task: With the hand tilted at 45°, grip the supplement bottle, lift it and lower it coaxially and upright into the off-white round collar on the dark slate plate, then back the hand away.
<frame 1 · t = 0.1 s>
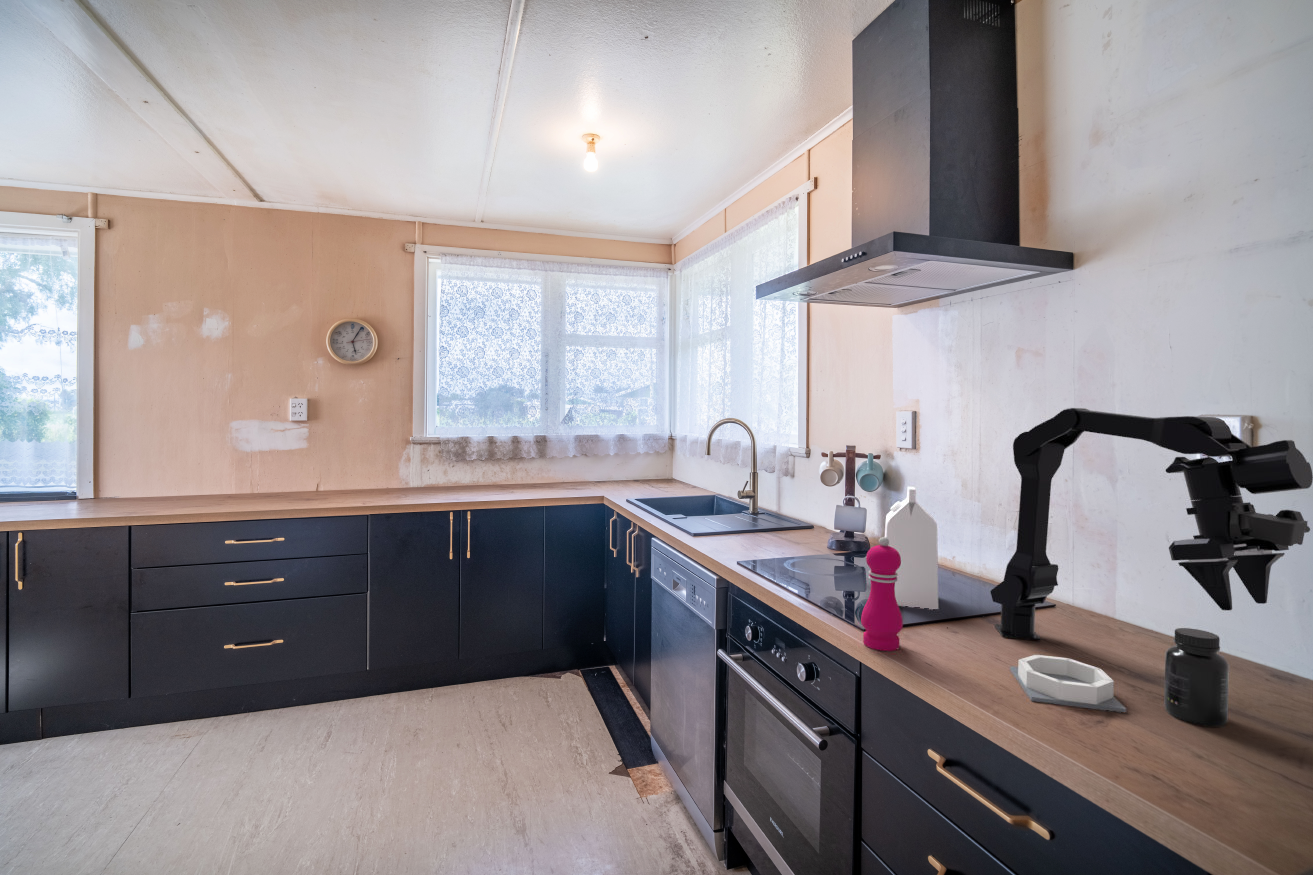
hand: (1244, 606, 88), 15 cm above the worktop, tool pointing down, fingers open, 9 cm apart
milk: (908, 600, 143), on the worktop
supplement bottle: (1194, 717, 87), on the worktop
pepper mill: (880, 645, 113), on the worktop
collar seat: (1063, 689, 95), on the worktop
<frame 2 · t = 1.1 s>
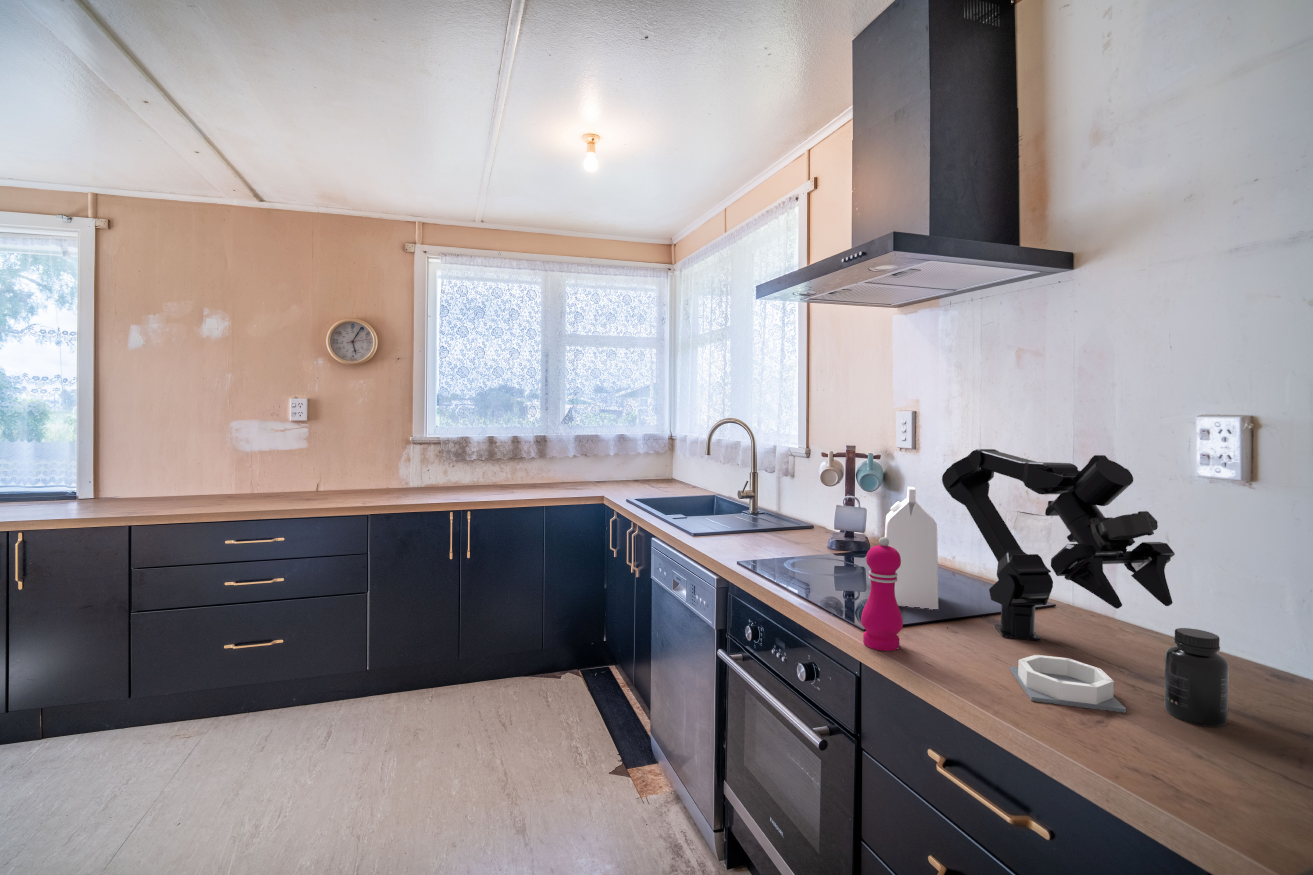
hand: (1144, 606, 95), 13 cm above the worktop, tool tilted 45°, fingers open, 9 cm apart
nothing on the worktop moved.
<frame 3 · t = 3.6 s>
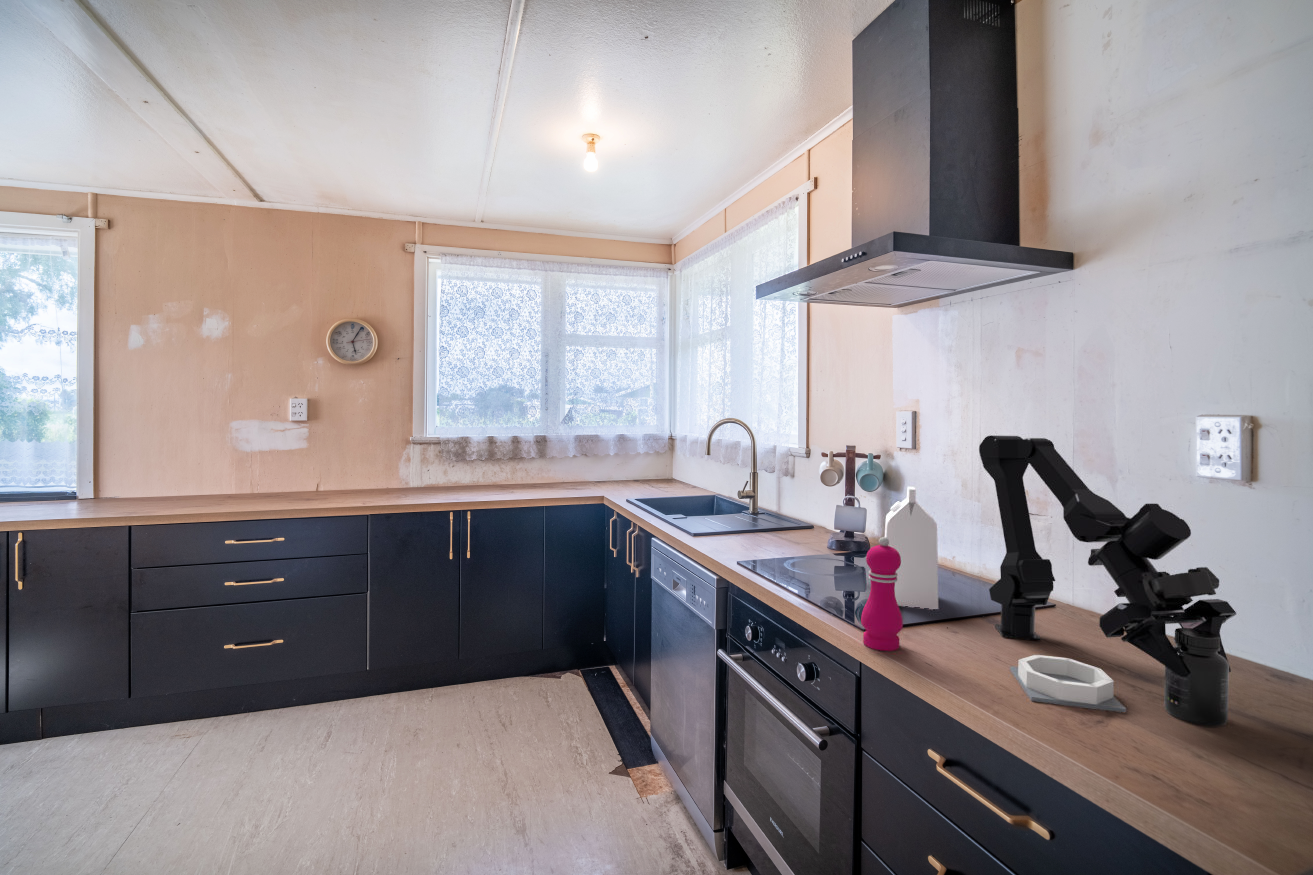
hand: (1206, 674, 86), 7 cm above the worktop, tool tilted 45°, fingers closed on supplement bottle, 7 cm apart
supplement bottle: (1194, 717, 87), on the worktop, touching gripper
everything else where it was.
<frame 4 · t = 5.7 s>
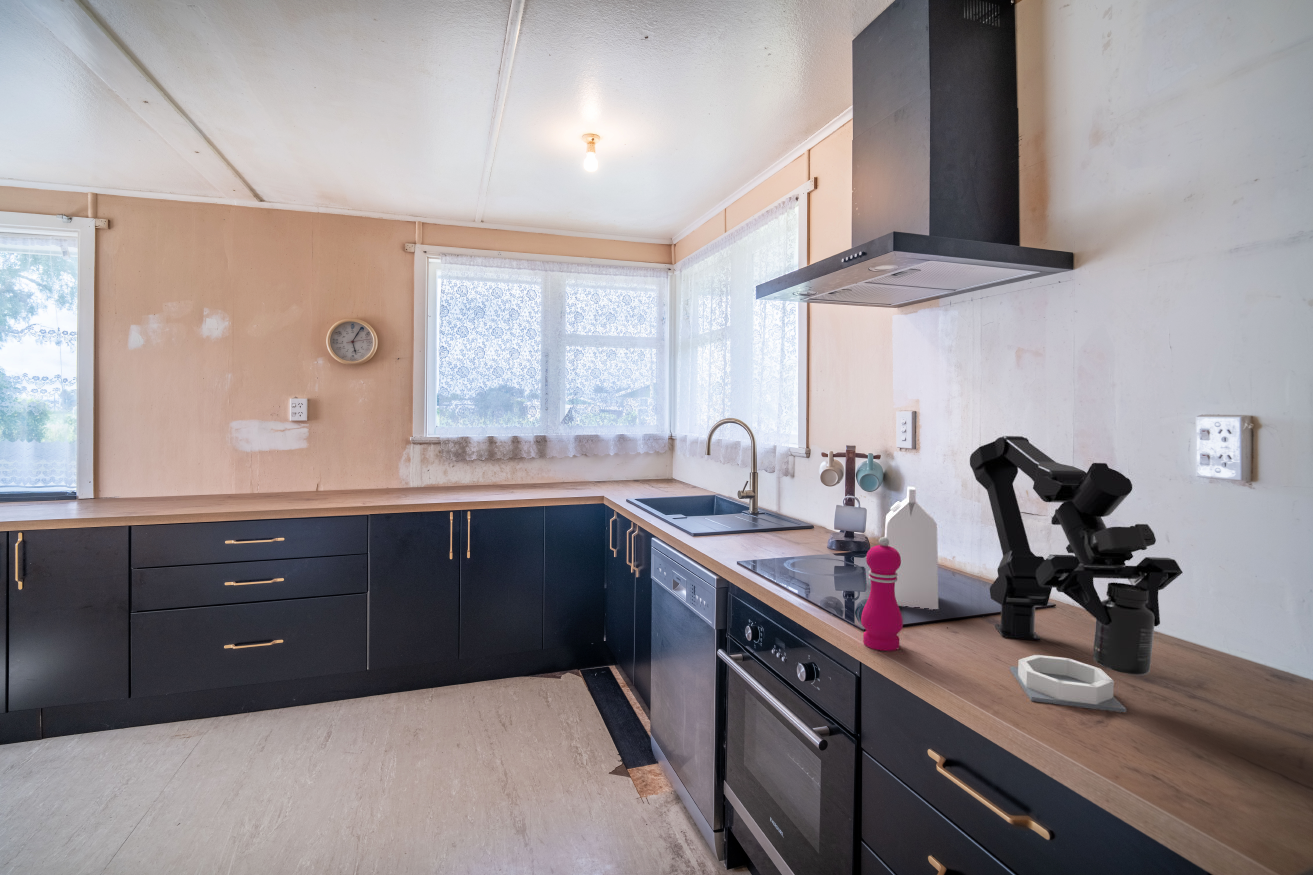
hand: (1131, 624, 89), 12 cm above the worktop, tool tilted 45°, fingers closed on supplement bottle, 7 cm apart
supplement bottle: (1119, 667, 91), point 5 cm above the worktop, touching gripper
everything else where it was.
when the fingers open (8 cm above the worktop, at t = 7.8 s): supplement bottle stays where it is, resting on collar seat.
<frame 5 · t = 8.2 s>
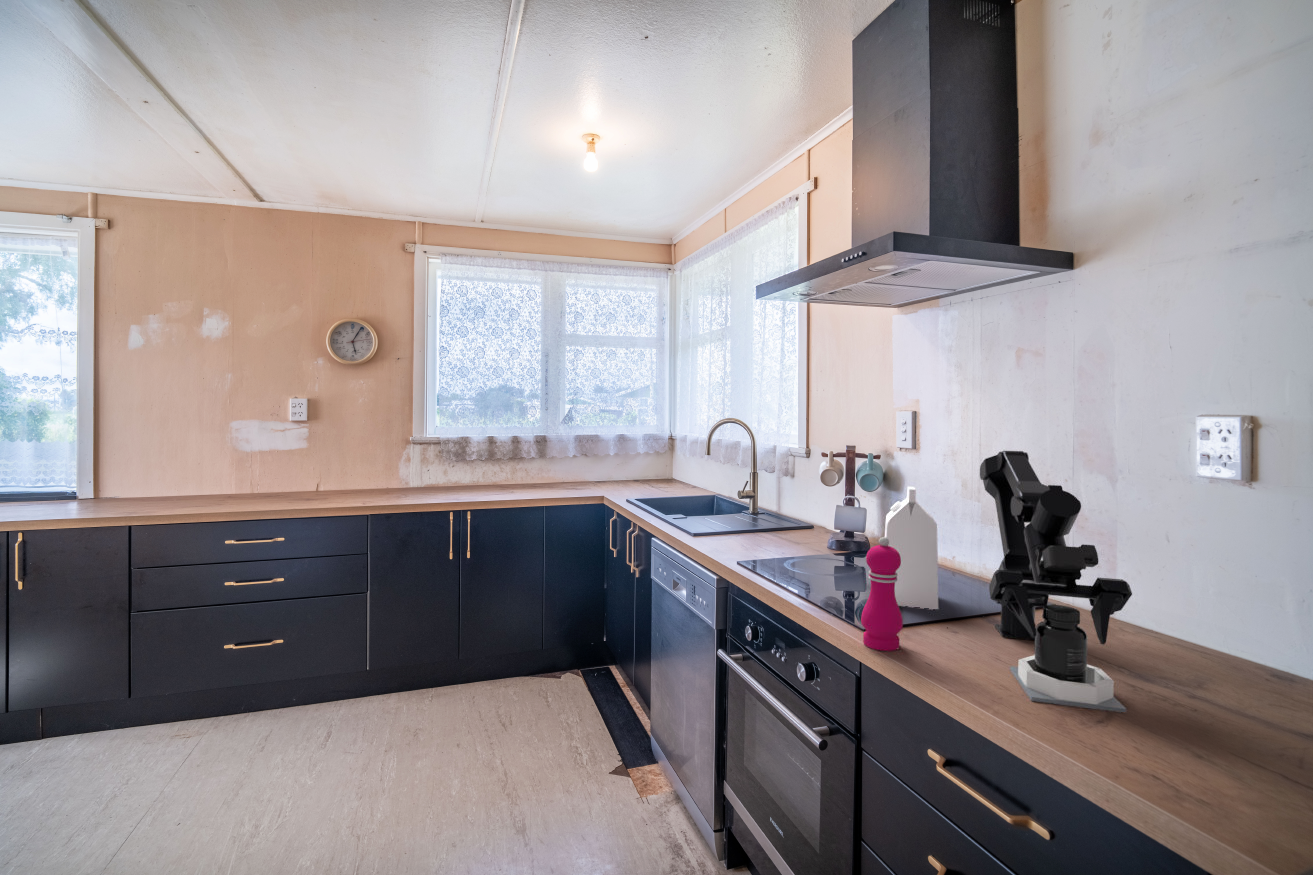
hand: (1068, 639, 94), 8 cm above the worktop, tool tilted 45°, fingers open, 9 cm apart
supplement bottle: (1059, 686, 96), resting on collar seat
everything else where it was.
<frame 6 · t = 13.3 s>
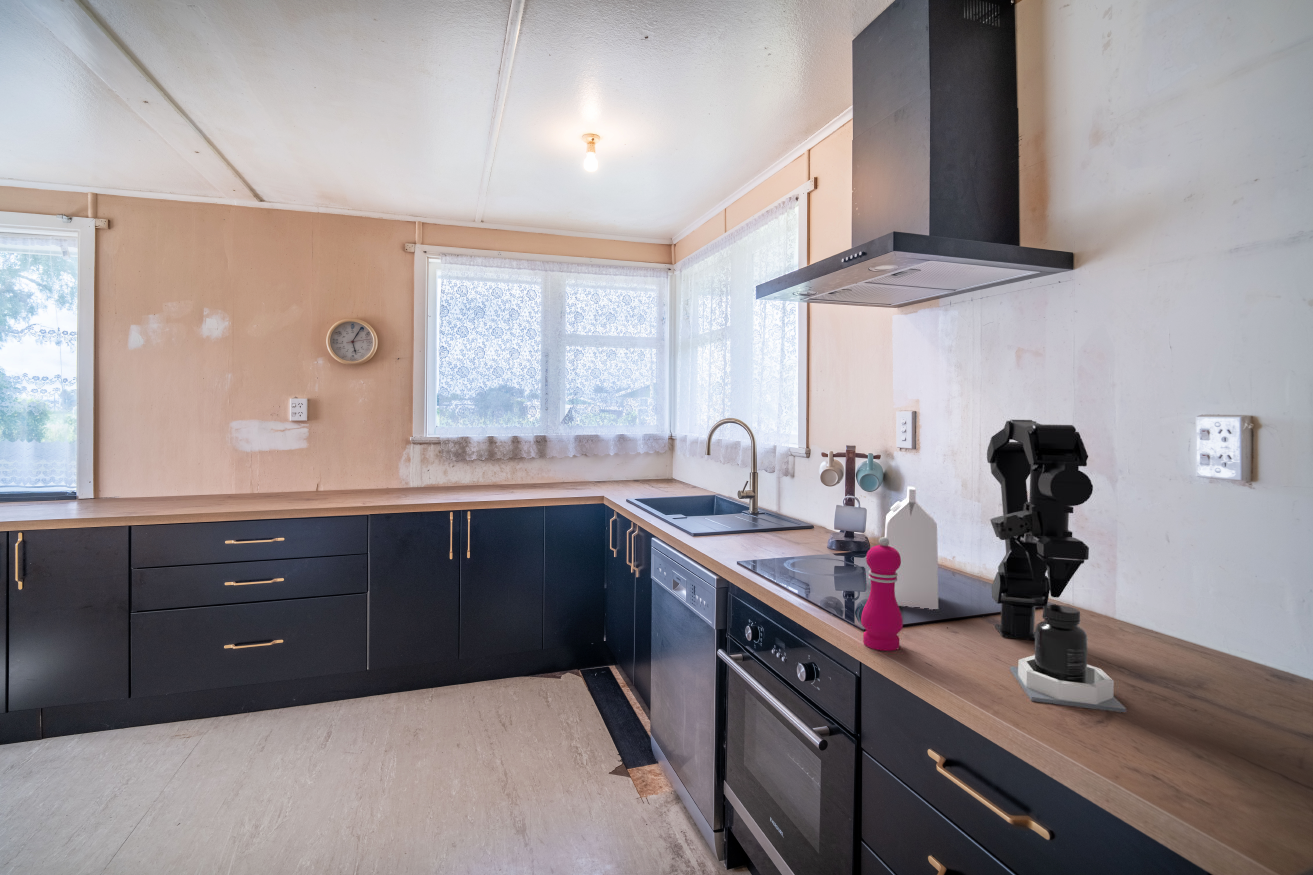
hand: (1045, 589, 105), 13 cm above the worktop, tool pointing down, fingers open, 9 cm apart
nothing on the worktop moved.
at the end: supplement bottle 0.5 cm off-centre on the collar seat, point 0.4 cm above the collar seat's base; supplement bottle tilted 0°; the gripper is holding nothing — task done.
